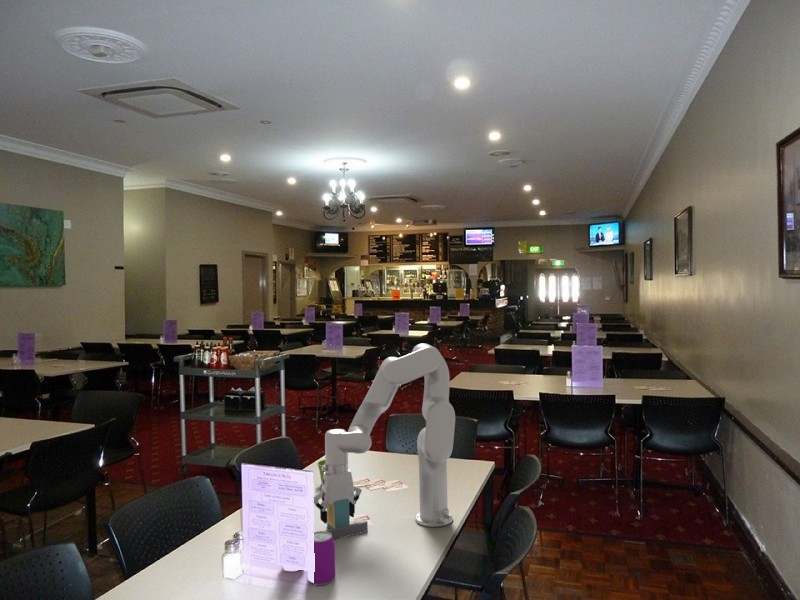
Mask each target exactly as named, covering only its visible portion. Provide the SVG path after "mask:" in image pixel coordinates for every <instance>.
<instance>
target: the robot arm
mask: <svg viewBox="0 0 800 600" xmlns="http://www.w3.org/2000/svg"><path fill="white" fill-rule="evenodd" d="M421 377H424V388H423V398H422V407H421V413H422V416H423V418H424V420H425V427H423V428H422V429H421V430H420V431H419V433H418V436H417V437H416V439H417V440H416V447H417V449H416V450H417V456H418V457H417V458H418V459H417V460H418V484H419V485H418V489H419V491H418V492H419V493H418V495H419V512H417V513H416V514H415V522H416V523H418V524H419V525H421V526H424V527H430V528H440V527H444V526H447V525H449V524H451V523H452V521H453V520H454V519H453V515H452V513H450V512H449V511H450V510H449V507H448V503H449V502H448V500H449V499H448V465H447V460H448V459H449V458H450V457H451V455H452V453H453V447H454V440H455V439H454V438H455V427H456V426H455V425H456V412H455V409H454V407H453V405H452V403H450V399H449V397H450V371H449V367H448V364H447V362H446V360H445V358H444V357H443V356H442V354H441V353H440V350H439V349H438V348H437V347H435V346H432V345H431V344H428V343H423V342H422V343H419V344H416V345H415V346H414V347H413V349H412V351H411V353H408V354H406V355H403V356H400V357H397V356H388V357H387V358H385V359H384V360H383V361H382V363H381V365H380V366H379V368H378V370H377V372H376V375H375V377H374V379H373V381H372V383H371V386H370V388H369V389H368V391H367V393H366V395H365V397H364V399H363V401H362V403H361V405H360V406H359V408H358V410H357V411H356V413H355V415H354V417H353V419H352V422H351V423H350V425H349V428H348V430H347V431H346V430H345V429H343V428H334V429H333V428H332V429H329V430H326V432H325V434H324V456H325V457H324V460H325V466H323V467H322V471H326V472H324V475H323V480H322V483H321V491H320V492H319V493H317V494H316V495H315V496H314V497H313V498H314V502H313V504H314V505H315V507H316V508H317V509H319V510H320V518H319V519H320V521H322V522H323V523H324V524H326V525H327V507H328V505H334V502H337V501H341V500H346V499H349V517H350V518H354V517H355V513H356V507H355V506H356V504H357V501H358V500H359V498H360V496H361V494H362V489H361V488H359V487H357V486H354V480H353V474H352V471H351V470H352V469H351V470H350V469H349V454H358V455H359V454H360V455H361V454H365V453H367V452H369V450H370V448H371V447H372V443H373V441H372V438H371V436H370V435H371V433H372V430H373V428H374V426H375V424H376V422H377V420H378V419H379V417H380V416H381V415H382V414H383V413H384V412H385V411H387V410H388V409H389V407H390V406H391V404H392V402H393V399H394V398H395V395H396V393H397V391H398V389H399V387H400V386H401V385H404V384H408V383H410V382H412V381H416V380H417V379H419V378H421ZM320 500H321V502H319V501H320Z"/></svg>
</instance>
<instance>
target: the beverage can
mask: <svg viewBox="0 0 800 600" xmlns="http://www.w3.org/2000/svg"><path fill="white" fill-rule="evenodd" d="M313 533H314V553H315V572H314V584H316V585H315V586H324V585H323V584H325V585H328V584H330V583H331V582H333V580H335V577H336V544H335V543H336V542H335V539H334V540H333V537H332V534H331V533H330V532H327V531H326V530H320V531H314V532H313ZM329 582H330V583H329ZM327 583H328V584H327ZM314 584H313V585H314Z"/></svg>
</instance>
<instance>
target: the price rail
mask: <svg viewBox="0 0 800 600" xmlns="http://www.w3.org/2000/svg"><path fill="white" fill-rule="evenodd" d="M368 526H369V525H368V521H367V520H363V521H359V522H355V523H351V524H350V525H346V526H342V527H338V528H334V529H330V528H329V529H326V530H325V531H327V532H330V533H331V534H332V537H333V540H334V541H335V540H338V539H342V538H346V537H349V536H348V535H350V536H353V535H352V534H354V535H357V534H356V533H358V534H361V533H360V532H362V533H365V532H364V531H366V532H368V529H369V528H368ZM345 536H346V537H345ZM341 537H342V538H341ZM337 538H338V539H337Z"/></svg>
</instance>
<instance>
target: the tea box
mask: <svg viewBox="0 0 800 600" xmlns="http://www.w3.org/2000/svg"><path fill="white" fill-rule="evenodd" d="M326 511H327V523H326V526H327V527H328V528H329V530H330V529H334V528H338V527H342V526H346V525H350V518H351V516H350V515H349V499H346V500H341V501H337V502H334V505H328V507H327V508H326Z"/></svg>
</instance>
